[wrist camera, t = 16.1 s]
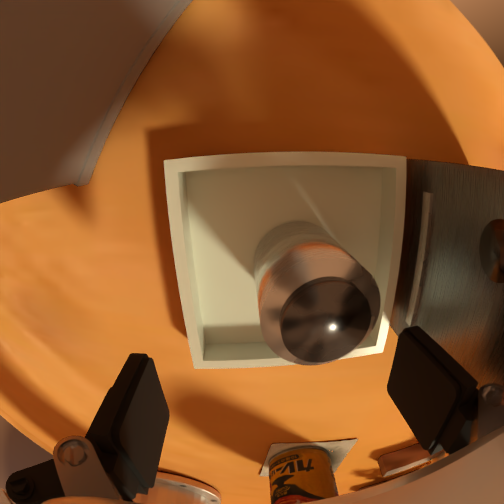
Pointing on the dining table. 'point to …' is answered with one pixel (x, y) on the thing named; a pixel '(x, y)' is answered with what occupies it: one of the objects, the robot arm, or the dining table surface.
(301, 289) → the cylinder
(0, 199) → the cassette tape recorder
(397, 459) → the valve rest
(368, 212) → the tray
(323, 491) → the condiment
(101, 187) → the dining table surface
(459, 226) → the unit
